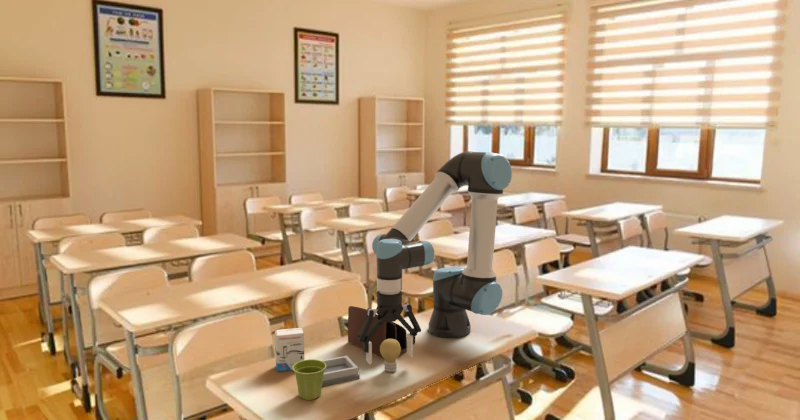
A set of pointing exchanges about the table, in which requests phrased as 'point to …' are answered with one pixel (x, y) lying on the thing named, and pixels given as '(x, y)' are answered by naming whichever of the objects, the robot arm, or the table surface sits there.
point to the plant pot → (309, 378)
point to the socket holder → (339, 370)
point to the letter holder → (384, 332)
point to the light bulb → (390, 353)
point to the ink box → (289, 348)
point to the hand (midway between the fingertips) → (389, 358)
